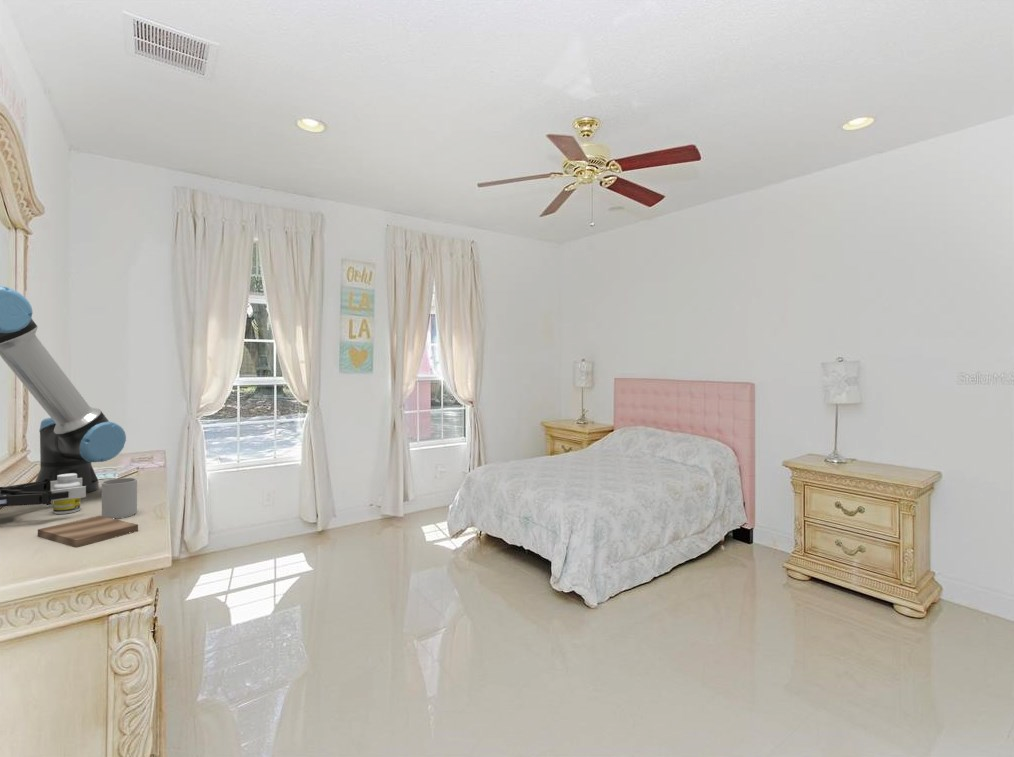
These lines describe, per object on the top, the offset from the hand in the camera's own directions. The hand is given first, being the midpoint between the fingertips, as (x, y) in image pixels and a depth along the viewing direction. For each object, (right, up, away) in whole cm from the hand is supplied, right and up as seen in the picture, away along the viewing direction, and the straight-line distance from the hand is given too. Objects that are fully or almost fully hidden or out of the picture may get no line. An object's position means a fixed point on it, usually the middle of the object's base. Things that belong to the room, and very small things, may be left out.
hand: (84, 487), depth 134 cm
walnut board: (+17, -7, -19) cm, 26 cm away
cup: (+12, -6, -4) cm, 14 cm away
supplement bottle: (-3, -6, -2) cm, 7 cm away
